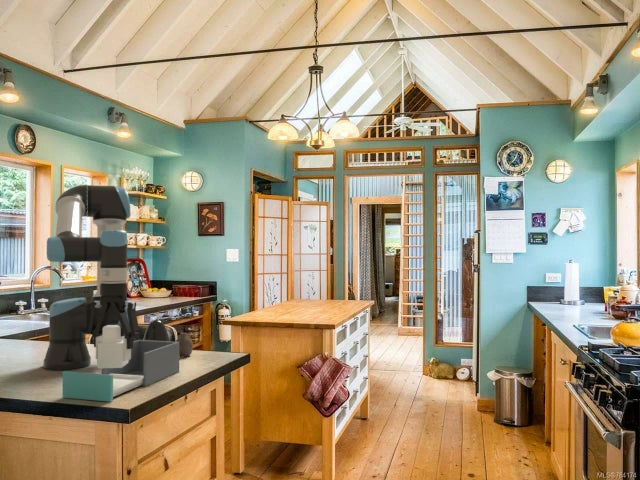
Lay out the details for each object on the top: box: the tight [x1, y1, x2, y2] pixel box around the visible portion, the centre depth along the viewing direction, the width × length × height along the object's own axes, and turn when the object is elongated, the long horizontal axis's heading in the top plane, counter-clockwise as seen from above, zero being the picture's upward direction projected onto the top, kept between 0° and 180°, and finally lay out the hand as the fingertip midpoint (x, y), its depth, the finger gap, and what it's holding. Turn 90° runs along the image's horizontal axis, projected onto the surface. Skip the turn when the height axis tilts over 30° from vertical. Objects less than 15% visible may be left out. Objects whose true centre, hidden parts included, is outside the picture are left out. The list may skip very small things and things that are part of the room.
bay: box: [101, 339, 180, 388], centre depth 175 cm, size 15×20×10 cm
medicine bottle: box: [96, 324, 129, 369], centre depth 160 cm, size 7×7×12 cm
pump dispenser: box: [142, 319, 171, 342], centre depth 200 cm, size 10×10×15 cm
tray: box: [61, 370, 144, 403], centre depth 159 cm, size 15×20×7 cm
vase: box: [175, 332, 194, 358], centre depth 209 cm, size 7×7×9 cm
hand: (113, 359), depth 160 cm, fingers closed on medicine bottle, 8 cm apart
